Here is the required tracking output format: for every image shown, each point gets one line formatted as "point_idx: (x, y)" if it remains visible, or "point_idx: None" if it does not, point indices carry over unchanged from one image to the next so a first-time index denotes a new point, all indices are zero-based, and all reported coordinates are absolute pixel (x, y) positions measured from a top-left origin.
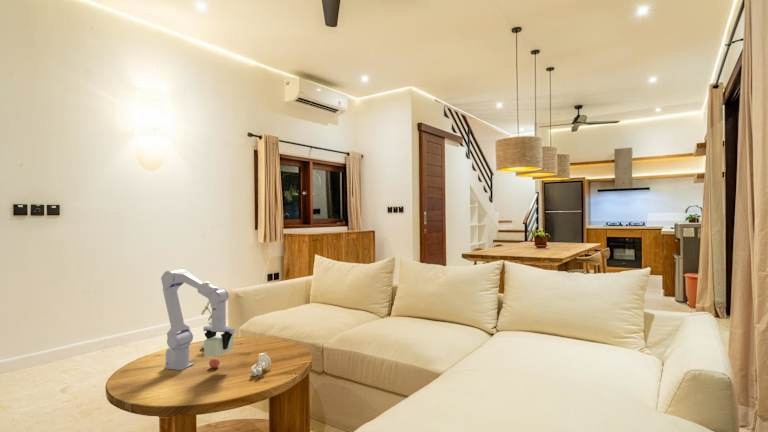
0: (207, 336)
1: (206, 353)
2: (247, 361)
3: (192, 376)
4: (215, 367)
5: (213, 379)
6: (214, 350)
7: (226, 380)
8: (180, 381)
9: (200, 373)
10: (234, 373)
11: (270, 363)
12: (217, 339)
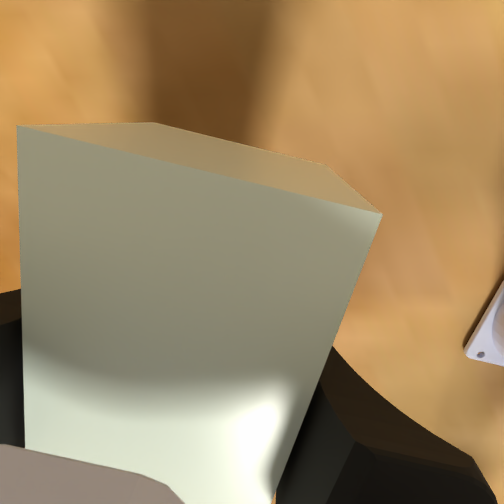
0: (381, 420)
1: (292, 159)
2: None
3: (393, 142)
4: None
5: (206, 86)
6: (146, 129)
7: (99, 68)
8: (454, 34)
9: None
10: None
11: None
12: (98, 302)
